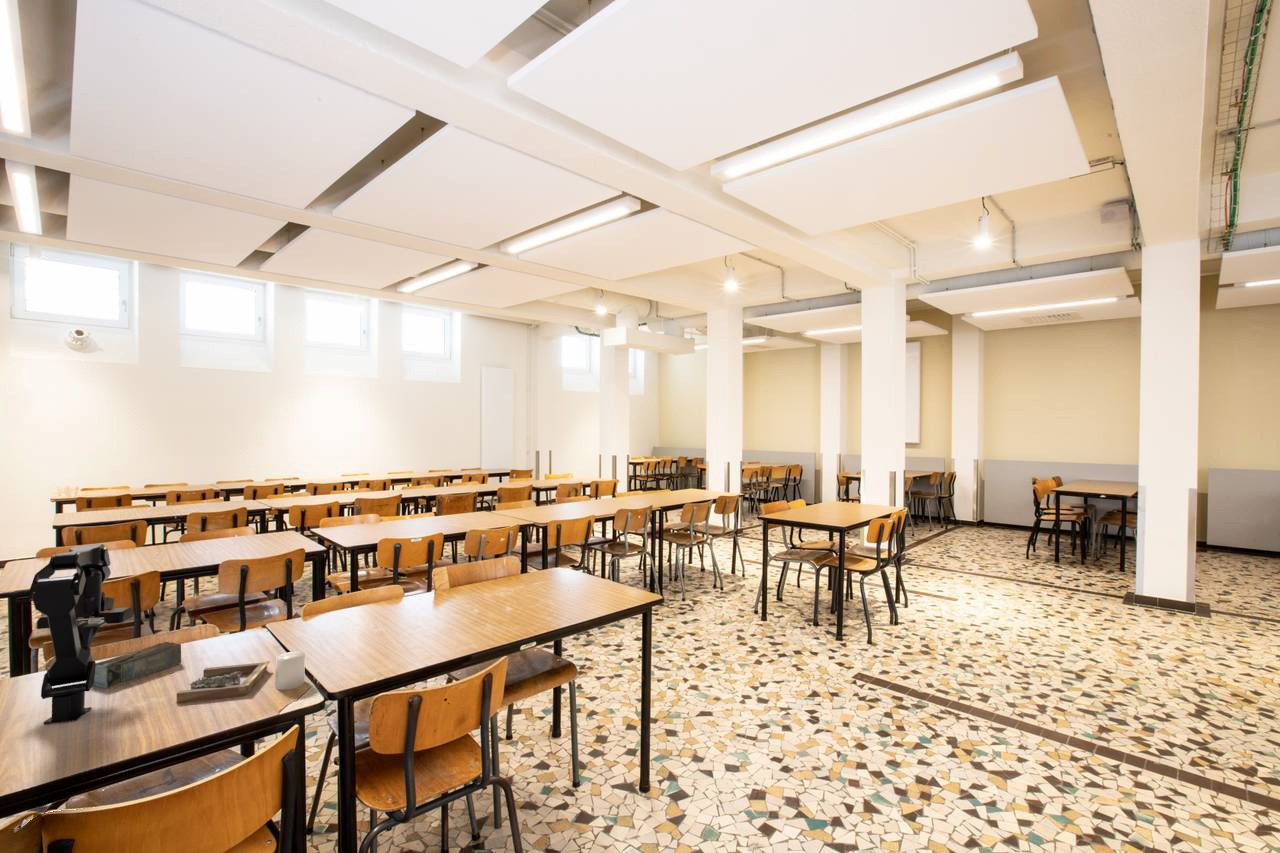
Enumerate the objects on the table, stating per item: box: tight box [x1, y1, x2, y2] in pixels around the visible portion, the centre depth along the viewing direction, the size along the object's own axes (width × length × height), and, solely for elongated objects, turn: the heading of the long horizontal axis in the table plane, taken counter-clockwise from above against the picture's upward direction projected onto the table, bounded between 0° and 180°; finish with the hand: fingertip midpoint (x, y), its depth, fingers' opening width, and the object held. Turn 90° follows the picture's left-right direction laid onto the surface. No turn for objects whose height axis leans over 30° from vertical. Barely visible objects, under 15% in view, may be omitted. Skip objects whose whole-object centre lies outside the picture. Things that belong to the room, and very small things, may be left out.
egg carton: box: [188, 671, 242, 690], centre depth 157 cm, size 11×8×4 cm
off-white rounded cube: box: [274, 650, 306, 691], centre depth 161 cm, size 7×7×8 cm
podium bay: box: [176, 660, 271, 704], centre depth 160 cm, size 17×16×3 cm
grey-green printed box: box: [93, 641, 182, 689], centre depth 168 cm, size 8×19×7 cm, turn 159°
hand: (85, 649), depth 154 cm, fingers closed
